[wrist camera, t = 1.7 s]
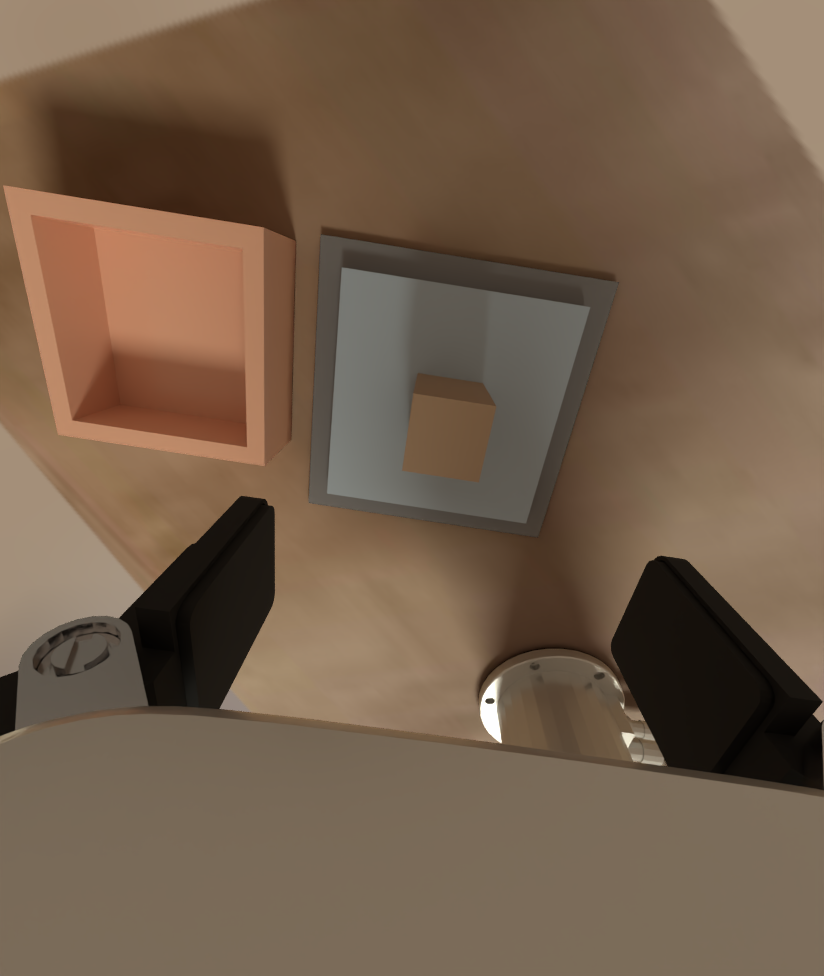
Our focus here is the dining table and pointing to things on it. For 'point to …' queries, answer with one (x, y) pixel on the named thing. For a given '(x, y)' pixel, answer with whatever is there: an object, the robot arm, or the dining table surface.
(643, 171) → the dining table surface
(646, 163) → the dining table surface
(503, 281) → the mat
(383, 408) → the lid
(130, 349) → the peach open tray
